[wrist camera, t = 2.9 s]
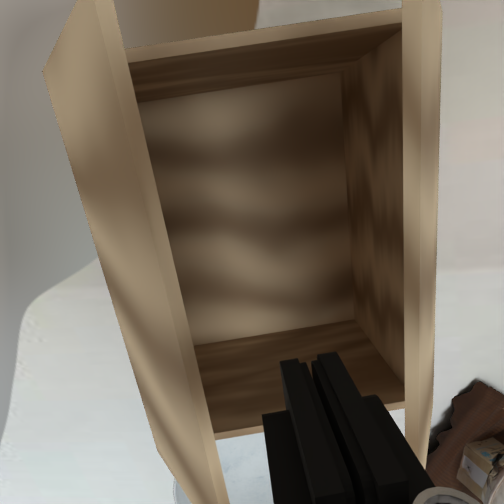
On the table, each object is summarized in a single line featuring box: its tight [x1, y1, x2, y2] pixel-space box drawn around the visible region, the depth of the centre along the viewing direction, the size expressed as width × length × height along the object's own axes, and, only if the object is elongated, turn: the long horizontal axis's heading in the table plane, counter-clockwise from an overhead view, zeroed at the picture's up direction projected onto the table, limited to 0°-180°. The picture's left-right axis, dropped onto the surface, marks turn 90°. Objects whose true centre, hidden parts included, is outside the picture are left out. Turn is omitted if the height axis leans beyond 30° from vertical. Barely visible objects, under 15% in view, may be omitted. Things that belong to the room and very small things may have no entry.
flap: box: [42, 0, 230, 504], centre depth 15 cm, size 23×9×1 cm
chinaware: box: [173, 432, 274, 504], centre depth 34 cm, size 15×15×8 cm
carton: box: [125, 8, 405, 440], centre depth 25 cm, size 24×18×12 cm
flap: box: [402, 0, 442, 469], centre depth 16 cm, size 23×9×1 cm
